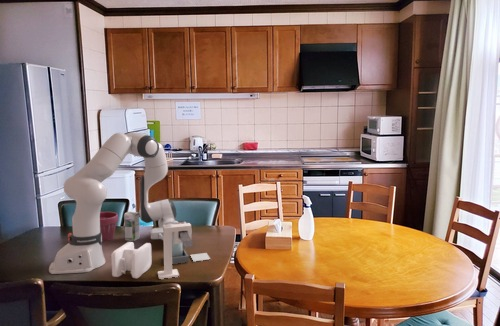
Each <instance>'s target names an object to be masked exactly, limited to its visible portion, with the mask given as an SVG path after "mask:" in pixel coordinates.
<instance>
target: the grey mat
mask: <svg viewBox="0 0 500 326" xmlns="http://www.w3.org/2000/svg"><path fill="white" fill-rule="evenodd" d="M190 256H191V257H190ZM189 257H190V259H191V258H192V259H191V260H193V261H192V262H193V263H197V262H196V261H201V262H204V261H203V260H209V259H211V257H210V255H209V254H208V253H207V252H202V253H195V254H193V253H192V254H190V255H189ZM209 261H210V260H209Z"/></svg>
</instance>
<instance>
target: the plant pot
mask: <svg viewBox="0 0 500 326" xmlns="http://www.w3.org/2000/svg"><path fill="white" fill-rule="evenodd" d="M118 221H119V215H118V213H117V212H114V211H100V231H101V234H102V242H107V241H111V240H113V239H114V236H115V232H116V227H117V223H118Z"/></svg>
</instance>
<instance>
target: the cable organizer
mask: <svg viewBox="0 0 500 326" xmlns="http://www.w3.org/2000/svg"><path fill="white" fill-rule="evenodd" d="M134 243H135V242H134V241H127V242H126V243H124V244H123V245H121V246H120V247H118V248H116V249H114V251H112V253H111V255H110V257H111V275H112V277H114V278H119V277H121V276H122V275H123V274H124V275H126V272H127V271H130V275H131V277H132V278H133V279H139V278H140V277H141V276H142V275H143V274H144V273H147V271H148V270H149V269H150V268H151V266H152V262H153V261H152V259H153V258H152V244H151V243H150V242H145V243H144V244H143V245H141V246H140V247H138V248H135V244H134Z"/></svg>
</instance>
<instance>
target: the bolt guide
mask: <svg viewBox="0 0 500 326" xmlns="http://www.w3.org/2000/svg"><path fill="white" fill-rule="evenodd" d="M191 229H192V224H191V223H190V222H186V223H184V224H173V225H163V239H164V240H163V265H164V266H163V270H159V271H157V275H158V279H161V280H165V279H164V278H168V279H173V278H172V277H175V278H179V277H180V273H179V270H178V269H177V268H174V269H173V265H172V232H173V241H174V244H178V243H182V242H181V240H180V238H179V236H178V231H187V233H188V235H189V236H190V238H191V240H192V241H193V239H192V237H193V236H192V234H193V233H192V232H193V231H192V232H191ZM178 276H179V277H178Z"/></svg>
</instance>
